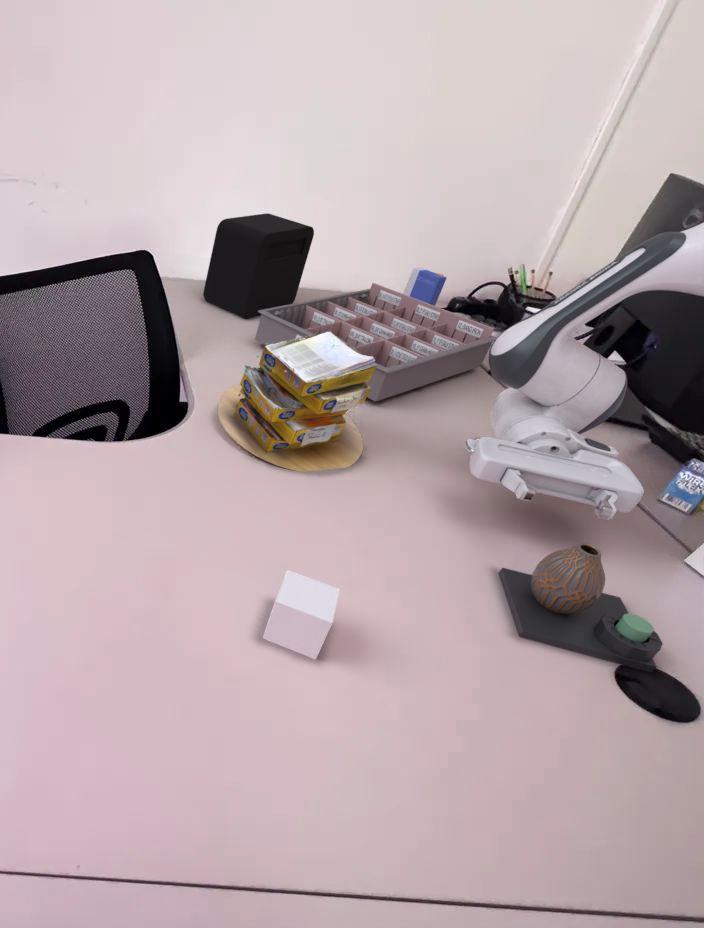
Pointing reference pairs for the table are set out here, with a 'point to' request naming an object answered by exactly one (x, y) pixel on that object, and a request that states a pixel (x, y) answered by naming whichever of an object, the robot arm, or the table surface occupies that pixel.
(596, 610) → the scale
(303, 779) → the table surface
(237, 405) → the stacked yellow boxes
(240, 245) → the air purifier
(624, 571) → the table surface
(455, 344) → the organizer tray
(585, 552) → the vase
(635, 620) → the button
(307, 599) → the white cube
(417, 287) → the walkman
